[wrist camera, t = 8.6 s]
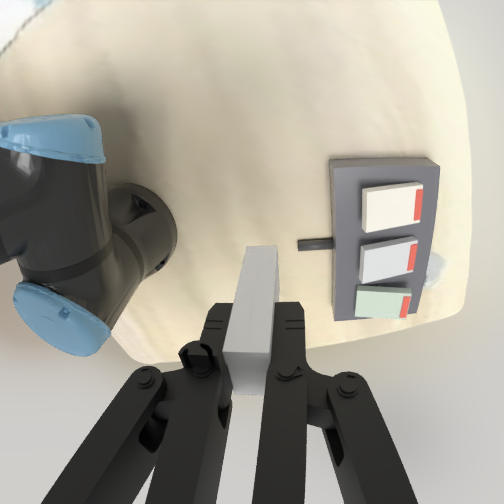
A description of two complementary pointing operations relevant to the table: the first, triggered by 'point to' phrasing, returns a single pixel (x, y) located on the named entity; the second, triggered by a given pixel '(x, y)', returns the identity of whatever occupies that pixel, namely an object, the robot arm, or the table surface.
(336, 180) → the rocker switch panel
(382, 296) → the sage rocker
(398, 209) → the cream rocker
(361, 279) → the grey rocker
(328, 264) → the table surface
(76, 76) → the table surface
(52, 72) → the table surface
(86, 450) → the robot arm
